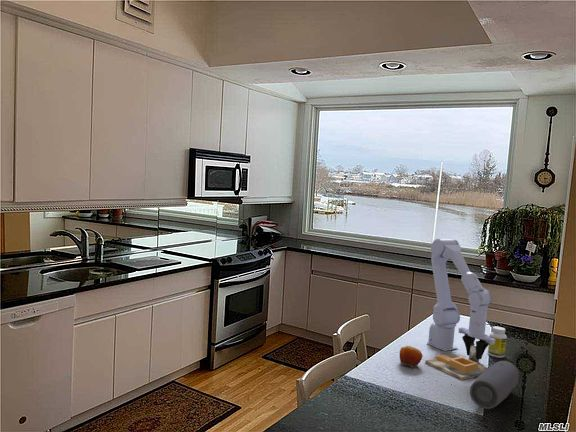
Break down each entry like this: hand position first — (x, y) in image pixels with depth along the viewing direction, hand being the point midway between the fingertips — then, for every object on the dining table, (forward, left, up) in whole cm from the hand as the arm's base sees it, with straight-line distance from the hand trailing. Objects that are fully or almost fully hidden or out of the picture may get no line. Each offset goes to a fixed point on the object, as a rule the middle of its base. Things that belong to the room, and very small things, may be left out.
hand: (474, 356), depth 180 cm
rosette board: (+2, -12, -1) cm, 12 cm away
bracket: (+1, -13, 0) cm, 13 cm away
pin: (0, 0, -1) cm, 1 cm away
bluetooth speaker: (+24, -23, -2) cm, 33 cm away
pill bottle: (0, +14, -2) cm, 14 cm away
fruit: (-7, -27, -2) cm, 28 cm away
